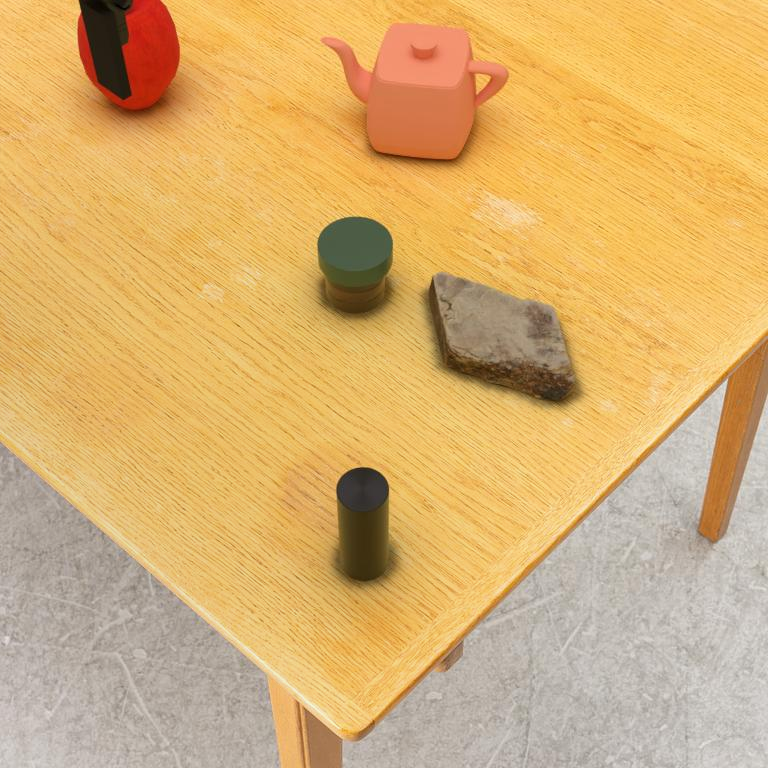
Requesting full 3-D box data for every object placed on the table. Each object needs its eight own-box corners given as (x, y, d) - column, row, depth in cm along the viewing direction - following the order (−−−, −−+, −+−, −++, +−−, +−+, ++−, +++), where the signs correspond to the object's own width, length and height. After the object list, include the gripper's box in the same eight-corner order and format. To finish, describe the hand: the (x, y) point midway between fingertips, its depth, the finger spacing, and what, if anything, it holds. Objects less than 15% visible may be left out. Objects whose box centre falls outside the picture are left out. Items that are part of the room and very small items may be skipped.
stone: (595, 337, 101) (600, 314, 98) (566, 409, 96) (571, 387, 94) (432, 288, 104) (434, 264, 102) (398, 355, 99) (398, 332, 97)
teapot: (497, 174, 113) (506, 87, 105) (313, 154, 115) (308, 67, 106) (507, 98, 120) (517, 11, 112) (334, 81, 122) (331, -7, 113)
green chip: (322, 290, 98) (321, 274, 97) (314, 236, 102) (313, 219, 101) (397, 282, 99) (398, 266, 97) (387, 229, 103) (387, 212, 101)
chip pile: (351, 323, 102) (350, 291, 98) (314, 289, 104) (312, 256, 101) (396, 295, 104) (397, 262, 100) (359, 261, 106) (359, 229, 103)
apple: (208, 100, 120) (193, -3, 110) (128, 144, 116) (105, 40, 106) (151, 55, 124) (132, -49, 114) (72, 95, 120) (45, -9, 110)
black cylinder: (343, 584, 86) (339, 514, 78) (337, 542, 88) (333, 469, 81) (391, 579, 87) (392, 508, 79) (384, 536, 89) (385, 464, 81)
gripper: (-259, -56, 52) (-102, 270, 69) (170, -247, 63) (215, 74, 80) (-339, -118, 55) (-170, 208, 72) (83, -290, 66) (144, 28, 83)
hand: (32, 138), depth 76 cm, fingers open, 13 cm apart
